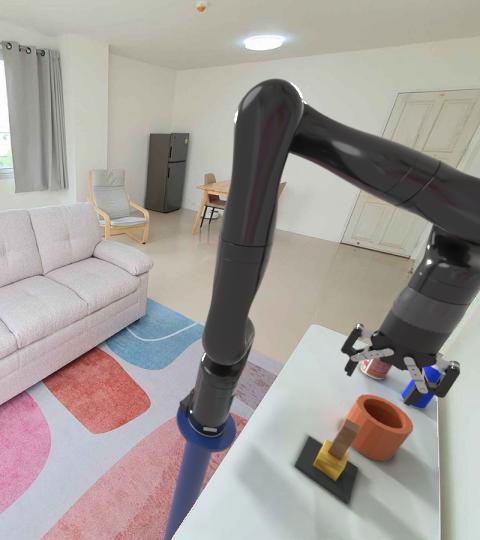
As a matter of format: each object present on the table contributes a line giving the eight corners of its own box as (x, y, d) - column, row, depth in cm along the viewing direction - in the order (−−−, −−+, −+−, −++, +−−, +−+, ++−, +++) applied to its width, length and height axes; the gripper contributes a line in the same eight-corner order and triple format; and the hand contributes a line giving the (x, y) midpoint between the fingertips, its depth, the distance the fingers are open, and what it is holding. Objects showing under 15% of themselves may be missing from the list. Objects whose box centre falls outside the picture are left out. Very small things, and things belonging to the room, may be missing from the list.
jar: (336, 438, 72) (352, 411, 68) (346, 413, 79) (361, 387, 74) (388, 470, 66) (410, 443, 61) (394, 441, 72) (415, 414, 68)
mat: (294, 466, 66) (295, 464, 66) (308, 437, 72) (309, 435, 72) (346, 504, 60) (347, 502, 59) (357, 468, 66) (358, 467, 66)
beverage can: (425, 402, 83) (454, 363, 76) (423, 413, 80) (455, 373, 73) (401, 391, 86) (428, 352, 79) (399, 401, 83) (427, 362, 76)
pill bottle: (389, 378, 90) (407, 351, 85) (373, 381, 89) (390, 354, 84) (370, 364, 96) (385, 337, 91) (355, 366, 94) (369, 339, 89)
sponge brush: (312, 465, 66) (336, 425, 59) (318, 452, 68) (341, 412, 62) (335, 481, 63) (363, 440, 57) (340, 466, 66) (367, 426, 59)
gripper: (363, 305, 49) (327, 375, 56) (490, 350, 40) (427, 427, 47) (371, 290, 54) (337, 356, 61) (486, 328, 45) (429, 400, 52)
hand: (376, 387), depth 54 cm, fingers open, 8 cm apart
